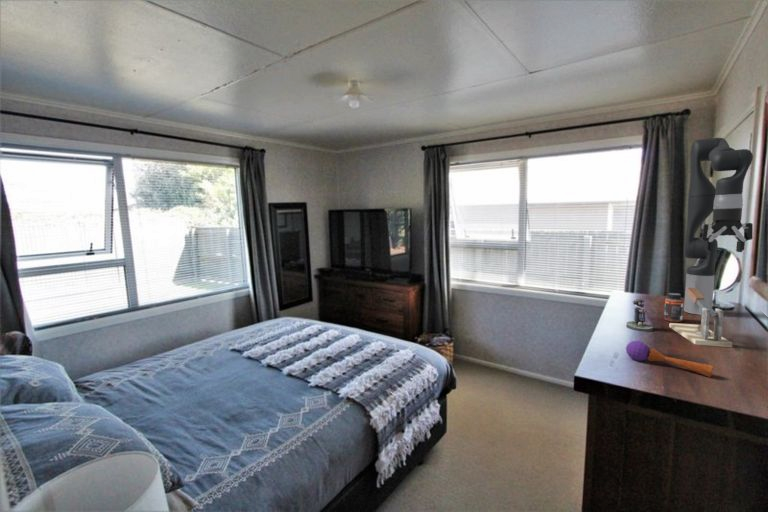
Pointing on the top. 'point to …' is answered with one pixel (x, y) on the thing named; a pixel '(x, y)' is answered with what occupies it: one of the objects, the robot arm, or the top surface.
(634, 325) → the figurine
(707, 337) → the base
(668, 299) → the supplement bottle
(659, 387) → the top surface
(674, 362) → the two-tone long tapered part
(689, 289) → the lever
